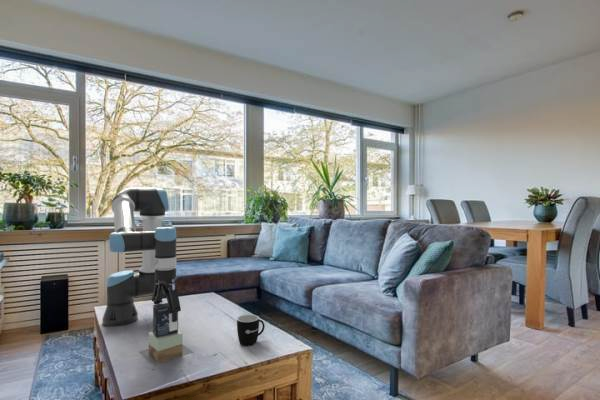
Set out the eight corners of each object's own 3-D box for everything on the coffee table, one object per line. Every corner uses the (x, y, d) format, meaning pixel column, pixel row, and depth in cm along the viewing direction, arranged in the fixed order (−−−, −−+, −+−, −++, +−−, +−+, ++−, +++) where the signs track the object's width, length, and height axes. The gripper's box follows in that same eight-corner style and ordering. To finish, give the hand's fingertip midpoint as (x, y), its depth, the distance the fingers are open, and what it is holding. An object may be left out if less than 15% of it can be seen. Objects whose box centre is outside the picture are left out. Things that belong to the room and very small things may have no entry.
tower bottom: (148, 354, 125) (148, 343, 125) (172, 347, 132) (172, 336, 132) (158, 362, 119) (158, 351, 119) (182, 354, 125) (182, 343, 125)
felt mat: (138, 352, 127) (138, 351, 127) (176, 341, 138) (176, 340, 138) (153, 366, 117) (153, 365, 117) (193, 352, 127) (193, 351, 127)
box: (156, 338, 121) (156, 308, 121) (152, 333, 125) (152, 304, 125) (178, 333, 125) (178, 304, 125) (174, 328, 130) (174, 301, 130)
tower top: (148, 343, 125) (148, 333, 125) (172, 336, 132) (172, 326, 132) (158, 351, 119) (158, 340, 119) (182, 343, 125) (182, 333, 125)
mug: (242, 349, 130) (242, 323, 130) (233, 341, 137) (233, 317, 138) (269, 342, 137) (269, 317, 137) (259, 335, 144) (259, 311, 144)
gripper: (142, 265, 132) (142, 319, 132) (170, 275, 114) (169, 337, 114) (162, 262, 137) (161, 315, 137) (190, 271, 119) (190, 331, 119)
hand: (165, 325), depth 125 cm, fingers open, 13 cm apart
